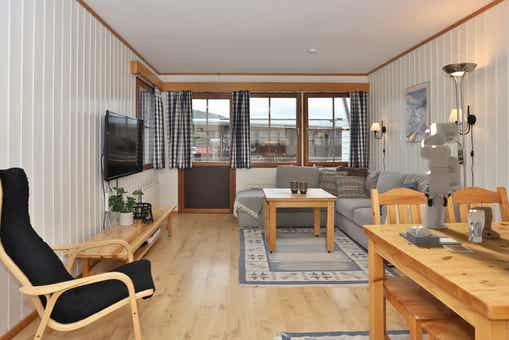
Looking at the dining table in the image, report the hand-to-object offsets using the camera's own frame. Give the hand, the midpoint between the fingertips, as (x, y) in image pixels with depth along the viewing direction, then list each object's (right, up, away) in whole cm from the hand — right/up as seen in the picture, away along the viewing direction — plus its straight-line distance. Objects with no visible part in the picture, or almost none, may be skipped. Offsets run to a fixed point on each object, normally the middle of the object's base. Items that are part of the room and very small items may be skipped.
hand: (437, 206), depth 188 cm
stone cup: (+26, -16, +5) cm, 31 cm away
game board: (-6, -16, -9) cm, 20 cm away
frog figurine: (0, -1, 0) cm, 1 cm away
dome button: (-11, -15, -9) cm, 20 cm away
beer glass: (+15, -17, -7) cm, 23 cm away
